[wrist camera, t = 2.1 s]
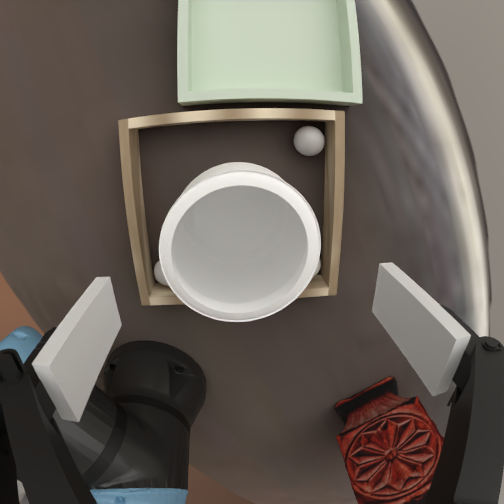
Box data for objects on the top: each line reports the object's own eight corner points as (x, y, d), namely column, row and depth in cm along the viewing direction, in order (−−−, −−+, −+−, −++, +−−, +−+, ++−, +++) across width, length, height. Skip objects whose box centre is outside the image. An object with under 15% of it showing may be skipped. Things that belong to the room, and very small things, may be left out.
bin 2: (148, 291, 36) (142, 305, 33) (129, 121, 29) (118, 120, 26) (327, 281, 38) (336, 294, 34) (333, 113, 31) (344, 111, 27)
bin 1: (183, 106, 29) (177, 102, 26) (184, -31, 23) (181, -45, 20) (349, 106, 30) (362, 103, 27) (338, -26, 24) (348, -38, 21)
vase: (343, 436, 51) (386, 565, 23) (323, 402, 46) (375, 564, 18) (406, 405, 49) (470, 524, 21) (398, 365, 45) (484, 509, 17)
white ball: (159, 278, 36) (153, 291, 33) (155, 253, 35) (149, 264, 32) (185, 277, 36) (181, 290, 33) (182, 252, 35) (178, 263, 32)
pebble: (290, 155, 32) (297, 157, 29) (290, 125, 31) (296, 124, 28) (319, 155, 32) (328, 157, 29) (319, 126, 31) (328, 125, 28)
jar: (246, 136, 31) (261, 135, 17) (300, 213, 34) (348, 266, 20) (167, 196, 33) (124, 240, 19) (224, 266, 36) (223, 347, 22)
